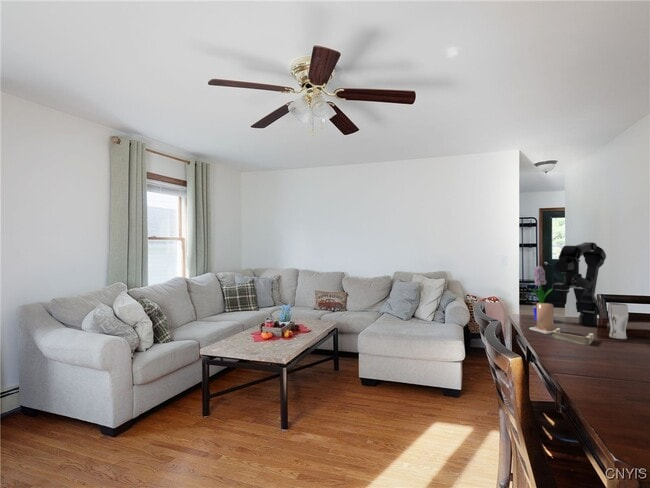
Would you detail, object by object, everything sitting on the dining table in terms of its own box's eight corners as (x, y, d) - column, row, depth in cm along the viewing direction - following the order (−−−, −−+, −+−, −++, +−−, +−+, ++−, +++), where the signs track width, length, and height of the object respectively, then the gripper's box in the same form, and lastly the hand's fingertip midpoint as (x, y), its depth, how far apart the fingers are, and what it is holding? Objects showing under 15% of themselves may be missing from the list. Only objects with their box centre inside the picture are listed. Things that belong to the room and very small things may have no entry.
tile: (543, 327, 172) (543, 325, 172) (560, 332, 164) (560, 330, 164) (529, 329, 170) (529, 327, 170) (546, 333, 161) (546, 332, 161)
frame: (557, 334, 160) (557, 327, 160) (593, 340, 150) (593, 333, 150) (551, 338, 153) (551, 332, 153) (588, 345, 143) (588, 338, 143)
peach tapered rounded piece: (543, 326, 171) (543, 302, 171) (556, 330, 165) (556, 305, 164) (533, 327, 169) (533, 303, 169) (546, 331, 162) (546, 306, 162)
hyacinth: (557, 322, 182) (557, 266, 182) (535, 321, 184) (535, 266, 184) (549, 318, 191) (549, 264, 191) (529, 318, 193) (529, 264, 193)
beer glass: (620, 335, 158) (620, 302, 157) (632, 339, 151) (632, 305, 150) (604, 335, 158) (604, 302, 158) (615, 339, 151) (615, 305, 151)
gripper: (574, 273, 156) (574, 307, 156) (603, 272, 162) (602, 305, 162) (551, 271, 167) (551, 303, 167) (579, 270, 173) (579, 301, 173)
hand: (571, 303), depth 167 cm, fingers open, 9 cm apart
